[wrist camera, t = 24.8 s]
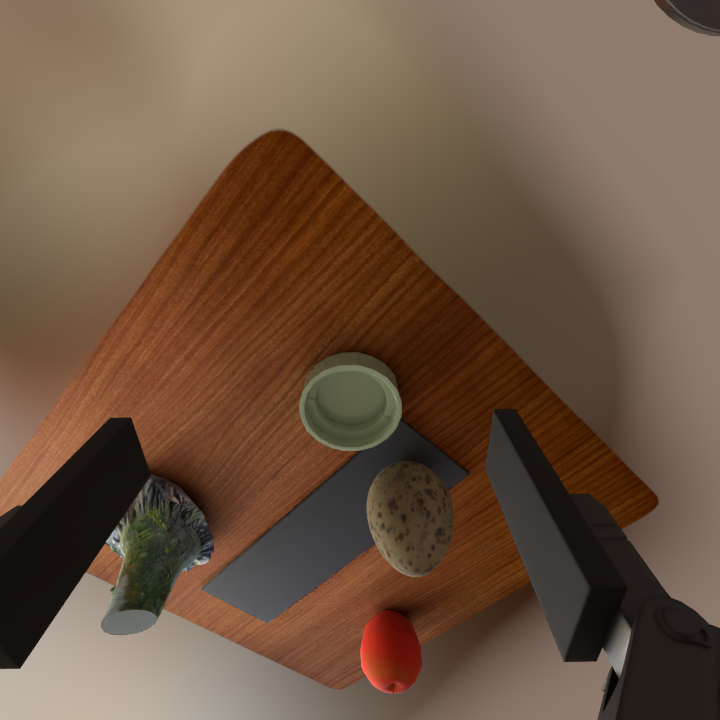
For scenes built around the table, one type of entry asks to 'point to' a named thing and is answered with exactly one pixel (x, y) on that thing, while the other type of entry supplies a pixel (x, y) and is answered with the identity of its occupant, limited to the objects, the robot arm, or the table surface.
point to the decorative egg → (410, 517)
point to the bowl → (350, 402)
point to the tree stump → (154, 554)
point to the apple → (390, 652)
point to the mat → (321, 530)
